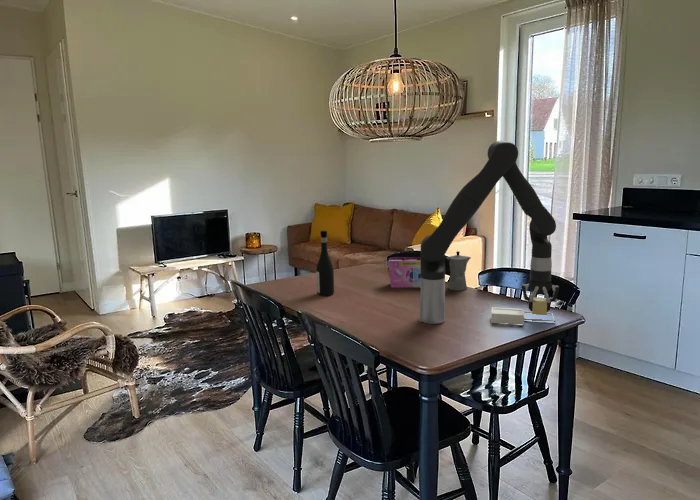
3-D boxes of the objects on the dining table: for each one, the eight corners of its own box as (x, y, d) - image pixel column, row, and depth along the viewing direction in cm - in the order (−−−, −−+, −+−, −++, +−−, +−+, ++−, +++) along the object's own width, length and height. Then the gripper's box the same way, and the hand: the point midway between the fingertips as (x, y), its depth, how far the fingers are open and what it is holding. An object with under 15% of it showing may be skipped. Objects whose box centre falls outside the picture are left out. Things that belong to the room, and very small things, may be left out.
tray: (524, 321, 194) (524, 318, 194) (522, 313, 204) (522, 311, 203) (555, 323, 191) (555, 320, 191) (552, 315, 201) (552, 312, 200)
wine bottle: (314, 296, 236) (312, 232, 231) (320, 291, 244) (317, 229, 238) (331, 297, 234) (329, 232, 229) (336, 292, 242) (334, 229, 236)
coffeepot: (465, 284, 250) (466, 248, 247) (474, 289, 241) (475, 252, 238) (436, 287, 247) (436, 250, 243) (444, 292, 238) (445, 254, 234)
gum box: (388, 288, 248) (387, 260, 245) (387, 284, 256) (387, 257, 253) (437, 287, 247) (437, 259, 245) (435, 283, 255) (435, 256, 253)
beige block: (532, 314, 195) (533, 301, 194) (531, 309, 200) (532, 297, 199) (546, 315, 193) (547, 302, 192) (545, 310, 199) (545, 297, 198)
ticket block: (491, 325, 191) (491, 314, 190) (491, 316, 201) (491, 306, 200) (523, 327, 188) (524, 316, 187) (522, 318, 198) (522, 308, 197)
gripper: (521, 269, 192) (519, 313, 195) (562, 271, 188) (560, 315, 191) (520, 265, 199) (519, 307, 202) (560, 266, 195) (557, 309, 198)
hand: (539, 311), depth 197 cm, fingers closed on beige block, 5 cm apart
